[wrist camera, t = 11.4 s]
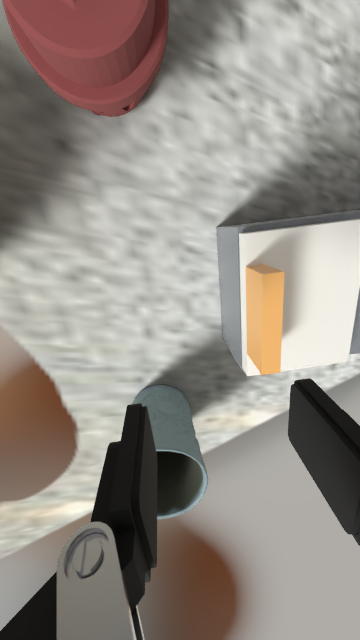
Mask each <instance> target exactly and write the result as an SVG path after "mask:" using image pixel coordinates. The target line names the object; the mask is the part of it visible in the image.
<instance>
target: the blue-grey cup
mask: <svg viewBox="0 0 360 640" xmlns="http://www.w3.org/2000/svg"><path fill="white" fill-rule="evenodd" d="M138 403H141V404H142V406H147V409H148V413H149V418H150V423H151V428H152V433H153V438H154V443H155V448H156V453H157V519H164V518H170V517H174V516H177V515H180V514H182V513H184V512H186V511H188V510H190V509H191V508H193V507H194V506H195V505H196V504H197V503H198V502H199V501H200V500H201V499H202V497H203V495H204V493H205V491H206V488H207V484H208V476H207V471H206V468H205V465H204V461H203V457H202V455H201V452H200V447H199V443H198V440H197V439H196V437H195V430H194V426H193V422H192V415H191V411H190V407H189V403H188V401H187V399H186V397H185V396H184V395H183V393H182V392H180V391H179V390H178V389H176V388H174V387H171V386H167V385H155V386H151V387H148V388H146V389H144V390H142V391H141V392H140V393H139V394H138V395H137V396H136V397H135V399H134V401H133V403H132V404H138Z"/></svg>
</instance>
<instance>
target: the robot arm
mask: <svg viewBox="0 0 360 640" xmlns="http://www.w3.org/2000/svg"><path fill="white" fill-rule="evenodd" d="M288 436H289V440H290V442H291V444H292V445H293V447H294V448H295V450H296V452H297V453H298V455H299V457H300V458H301V460H302V462H303V463H304V465H305V466H306V468H307V470H308V471H309V473H310V475H311V476H312V478H313V480H314V481H315V483H316V484H317V486H318V488H319V489H320V491H321V493H322V494H323V496H324V497H325V499H326V501H327V502H328V504H329V506H330V507H331V509H332V511H333V512H334V514H335V515H336V517H337V519H338V520H339V522H340V524H341V525H342V527H343V528H344V530H345V531H346V532H347V533H348V534H352V535H353V537H354V538H355V540H356V542H357V543H358V545H360V426H359V425H358V424H357V423H356V422H355V421H354V420H353V419H352V418H351V417H350V416H349V415H348V414H347V413H346V412H345V411H344V410H342V409H341V408H340V407H339V406H338V405H337V404H336V403H335V402H334V401H333V400H332V399H331V398H330V397H329V396H328V395H327V394H326V393H325V392H324V391H323V390H322V389H321V388H320V387H319V386H318V385H317V384H316V383H315V382H314V381H313V380H312V379H302V380H296V381H295V382H294V384H293V385H291V392H290V408H289V425H288ZM156 564H157V453H156V448H155V443H154V438H153V433H152V428H151V423H150V418H149V413H148V409H147V406H142V404H141V403H138V404H132V405H128V406H127V410H126V415H125V421H124V426H123V432H122V437H121V441H119V442H112V443H110V444H109V446H108V449H107V453H106V458H105V462H104V466H103V471H102V475H101V479H100V483H99V488H98V492H97V496H96V501H95V505H94V509H93V513H92V518H91V522H90V523H88V524H86V525H84V526H82V527H81V528H79V529H78V530H77V531H75V532H74V533H73V535H72V536H71V537H70V538H69V539H68V540H67V542H66V544H65V545H64V547H63V548H62V551H61V554H60V556H59V559H58V565H57V572H56V573H55V574H54V575H53V576H52V577H51V578H50V579H49V580H48V581H47V582H46V583H45V585H43V587H42V588H41V589H40V590H39V591H38V592H37V593H36V594H35V595H34V596H33V597H32V598H31V599H30V600H29V601H28V602H27V604H26V605H25V606H24V607H23V608H22V609H21V610H20V611H19V612H18V613H17V614H16V615H15V616H14V617H13V618H12V620H10V622H9V623H8V624H7V625H6V626H5V627H4V628H3V629H2V630H1V631H0V640H145V639H144V635H143V630H142V625H141V621H140V616H139V612H138V607H137V604H138V603H139V601H140V600H141V598H142V597H143V595H144V593H145V582H150V571H151V568H155V567H156Z"/></svg>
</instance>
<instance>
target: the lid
mask: <svg viewBox="0 0 360 640" xmlns="http://www.w3.org/2000/svg"><path fill="white" fill-rule="evenodd" d="M239 250H240V291H241V332H242V368H243V370H244V372H245V373H246V375H247V376H253V375H260V374H261V375H265V374H272V373H278V372H281V371H288V370H294V369H301V368H308V367H315V366H322V365H329V364H336V363H343V362H348V358H349V352H350V346H351V339H352V333H353V327H354V320H355V314H356V307H357V301H358V295H359V288H360V219H351V220H343V221H335V222H327V223H319V224H311V225H303V226H295V227H287V228H279V229H271V230H263V231H255V232H247V233H239Z"/></svg>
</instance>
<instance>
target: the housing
mask: <svg viewBox="0 0 360 640" xmlns="http://www.w3.org/2000/svg"><path fill="white" fill-rule="evenodd" d="M351 219H360V210H352V211H343V212H335V213H327V214H319V215H311V216H303V217H295V218H287V219H279V220H271V221H262V222H254V223H246V224H238V225H230V226H222V227H217V245H218V263H219V281H220V299H221V317H222V335H223V339H224V341H225V343H226V344H227V346H228V348H229V350H230V351H231V353H232V355H233V356H234V358H235V360H236V362H237V363H238V365H239V367H240V369H241V370H243V368H242V332H241V291H240V250H239V233H247V232H255V231H263V230H271V229H279V228H287V227H295V226H303V225H311V224H319V223H327V222H335V221H343V220H351ZM356 353H360V288H359V295H358V301H357V307H356V314H355V320H354V327H353V333H352V339H351V346H350V352H349V354H356Z"/></svg>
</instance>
